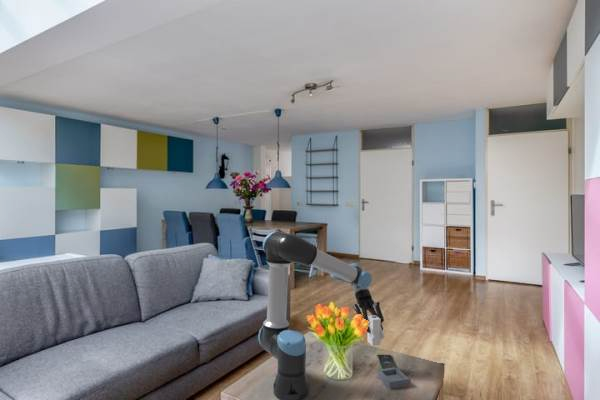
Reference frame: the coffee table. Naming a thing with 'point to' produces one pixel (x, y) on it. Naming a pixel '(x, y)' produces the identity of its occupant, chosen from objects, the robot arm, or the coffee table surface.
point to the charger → (374, 330)
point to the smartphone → (386, 361)
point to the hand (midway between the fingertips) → (377, 338)
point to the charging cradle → (393, 378)
